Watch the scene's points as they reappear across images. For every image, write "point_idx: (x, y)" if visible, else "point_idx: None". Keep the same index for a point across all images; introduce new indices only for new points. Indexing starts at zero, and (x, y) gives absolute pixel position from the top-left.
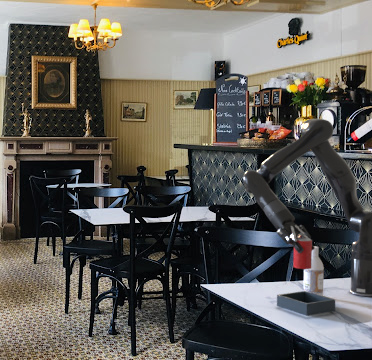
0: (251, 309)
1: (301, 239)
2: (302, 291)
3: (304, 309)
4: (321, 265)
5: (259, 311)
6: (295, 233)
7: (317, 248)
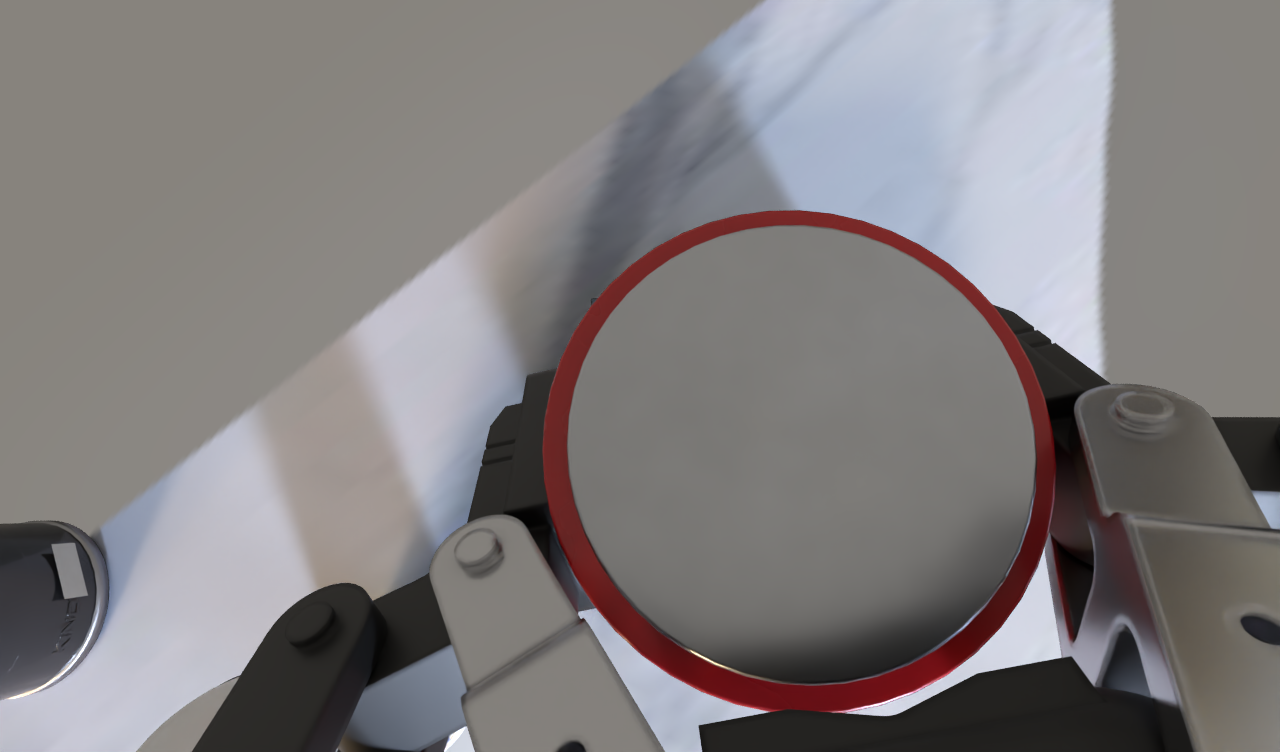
0: None
1: (936, 356)
2: None
3: None
4: (215, 696)
5: None
6: (1002, 730)
7: None
